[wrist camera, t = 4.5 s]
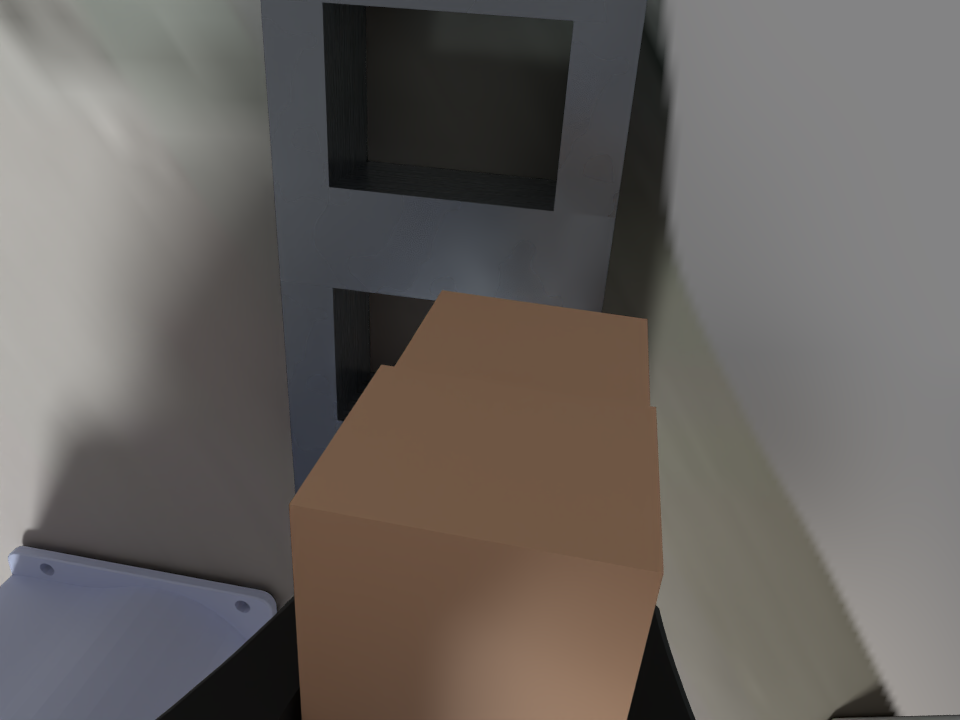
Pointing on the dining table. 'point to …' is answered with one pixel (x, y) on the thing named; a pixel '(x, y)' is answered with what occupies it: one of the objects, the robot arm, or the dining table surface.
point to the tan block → (485, 524)
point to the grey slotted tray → (425, 195)
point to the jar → (906, 718)
